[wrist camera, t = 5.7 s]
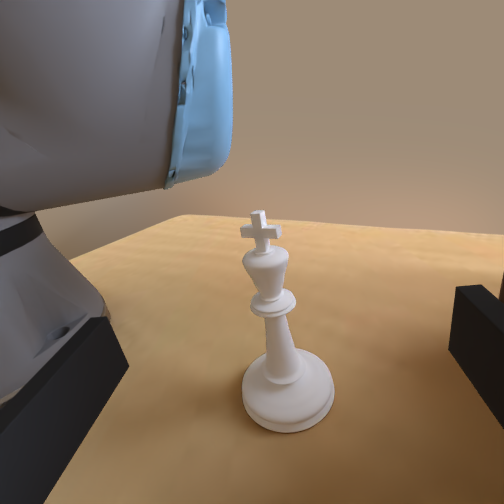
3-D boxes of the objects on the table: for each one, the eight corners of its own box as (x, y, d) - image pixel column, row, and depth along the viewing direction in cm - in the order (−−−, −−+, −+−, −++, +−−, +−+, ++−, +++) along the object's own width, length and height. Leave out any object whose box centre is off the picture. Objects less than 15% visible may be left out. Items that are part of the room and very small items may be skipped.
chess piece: (266, 348, 19) (237, 197, 15) (344, 367, 17) (333, 192, 13) (225, 412, 15) (171, 233, 11) (318, 450, 13) (291, 237, 9)
